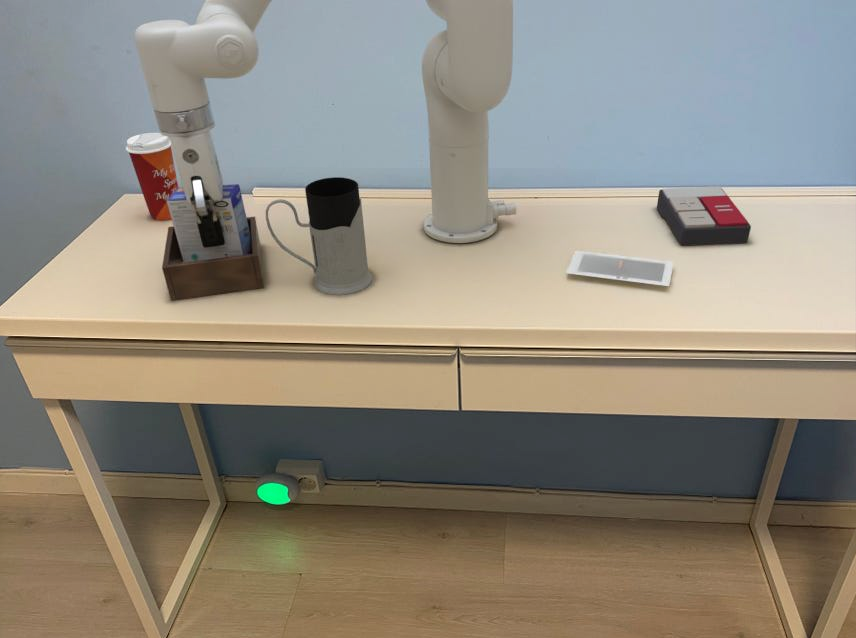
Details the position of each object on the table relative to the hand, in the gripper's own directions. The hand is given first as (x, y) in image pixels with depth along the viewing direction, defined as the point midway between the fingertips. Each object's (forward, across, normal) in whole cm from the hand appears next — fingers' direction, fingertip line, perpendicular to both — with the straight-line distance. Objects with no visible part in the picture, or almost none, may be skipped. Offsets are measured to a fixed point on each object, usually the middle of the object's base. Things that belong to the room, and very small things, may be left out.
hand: (214, 234), depth 114 cm
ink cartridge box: (+5, 0, 0) cm, 5 cm away
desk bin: (+6, 0, +1) cm, 6 cm away
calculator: (+8, -7, -79) cm, 80 cm away
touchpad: (+8, -19, -59) cm, 62 cm away
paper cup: (+6, +26, +10) cm, 29 cm away
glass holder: (+7, -8, -15) cm, 19 cm away
